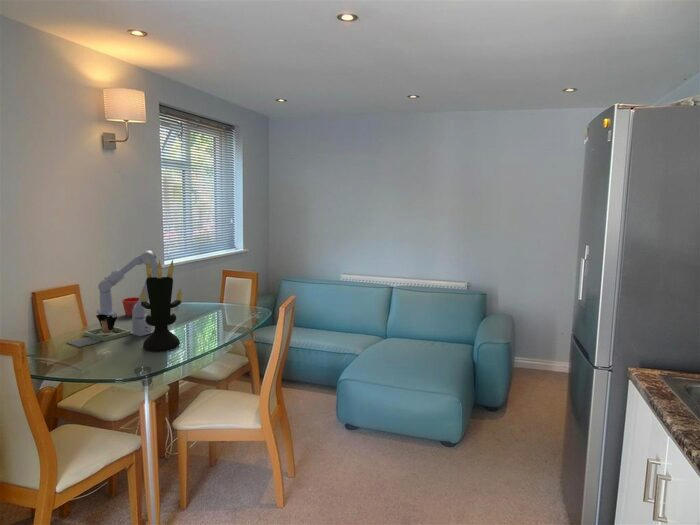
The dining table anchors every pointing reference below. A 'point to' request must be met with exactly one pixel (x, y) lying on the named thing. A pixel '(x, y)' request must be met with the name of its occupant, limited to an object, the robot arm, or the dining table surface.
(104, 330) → the seedling pot
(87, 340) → the slate tile
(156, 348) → the candelabra
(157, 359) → the dining table surface
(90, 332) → the pale green square frame
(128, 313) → the flower pot
